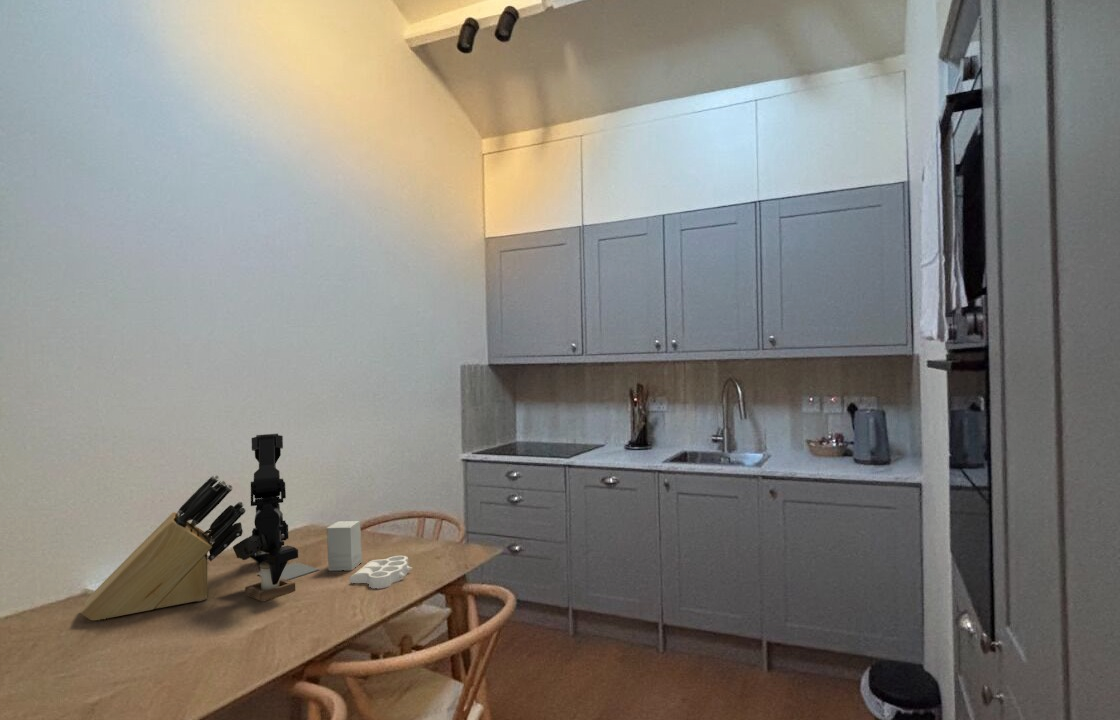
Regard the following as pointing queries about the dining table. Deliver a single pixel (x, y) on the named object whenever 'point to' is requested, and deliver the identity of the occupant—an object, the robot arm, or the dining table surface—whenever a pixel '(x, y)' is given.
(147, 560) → the knife block
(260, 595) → the pocket frame
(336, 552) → the supplement box
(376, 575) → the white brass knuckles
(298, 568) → the mat
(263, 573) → the jar
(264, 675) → the dining table surface
